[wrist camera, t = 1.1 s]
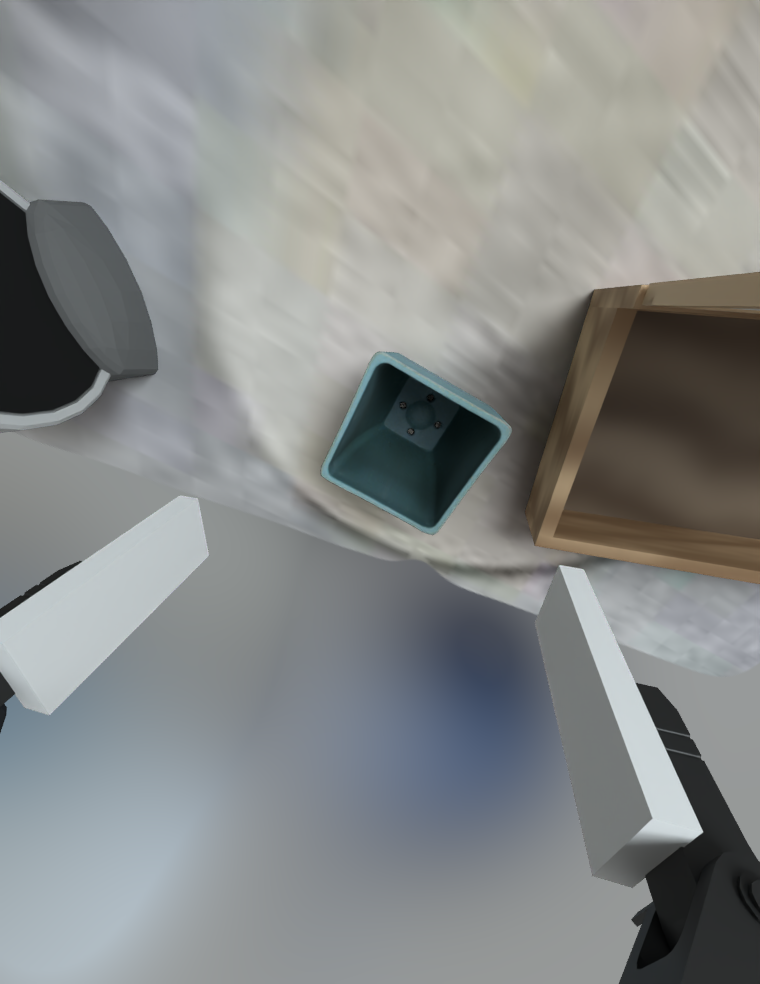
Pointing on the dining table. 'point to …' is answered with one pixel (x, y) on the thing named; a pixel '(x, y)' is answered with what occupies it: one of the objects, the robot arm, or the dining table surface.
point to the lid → (708, 293)
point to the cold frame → (656, 440)
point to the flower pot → (413, 442)
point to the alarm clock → (64, 312)
